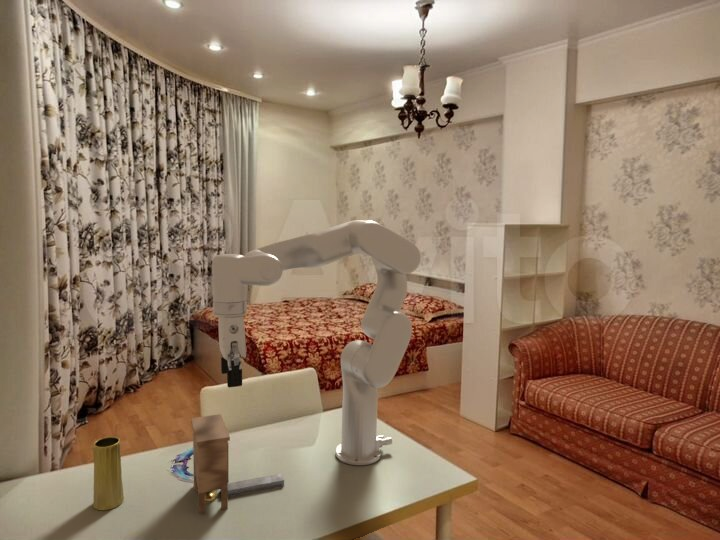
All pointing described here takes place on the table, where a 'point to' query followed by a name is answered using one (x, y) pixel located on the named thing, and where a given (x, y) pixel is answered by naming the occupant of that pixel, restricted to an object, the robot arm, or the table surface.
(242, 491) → the bar
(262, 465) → the table surface
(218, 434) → the cabinet
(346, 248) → the robot arm
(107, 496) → the vase
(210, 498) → the token
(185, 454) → the decorative blades
